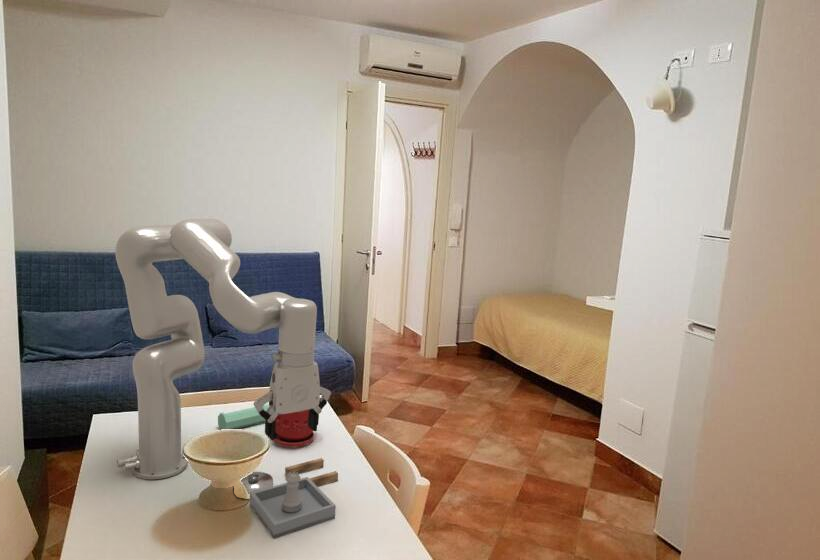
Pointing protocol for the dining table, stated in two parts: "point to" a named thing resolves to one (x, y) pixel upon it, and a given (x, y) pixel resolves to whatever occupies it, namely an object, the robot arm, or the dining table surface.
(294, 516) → the tray
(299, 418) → the plant pot
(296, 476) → the rook chess piece
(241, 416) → the mint green rod
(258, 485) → the pulley
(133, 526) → the dining table surface
